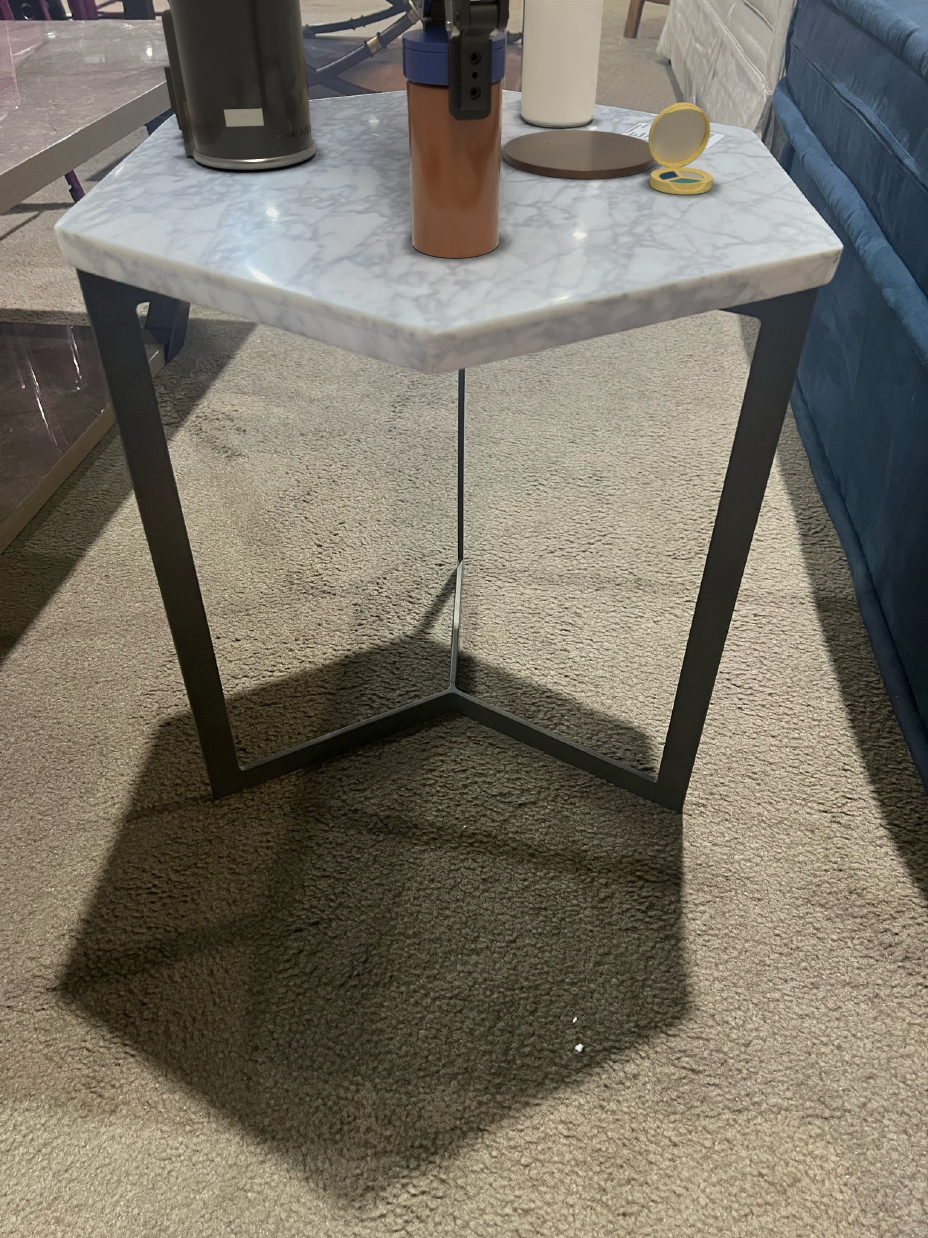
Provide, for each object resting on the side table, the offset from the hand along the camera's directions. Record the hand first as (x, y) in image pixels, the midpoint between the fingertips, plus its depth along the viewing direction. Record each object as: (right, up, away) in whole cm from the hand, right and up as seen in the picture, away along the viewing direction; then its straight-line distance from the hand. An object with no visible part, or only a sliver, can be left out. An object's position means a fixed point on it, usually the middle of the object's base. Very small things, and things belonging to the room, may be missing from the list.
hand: (456, 104), depth 53 cm
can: (+9, +15, +29) cm, 34 cm away
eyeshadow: (+16, +2, +15) cm, 22 cm away
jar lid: (0, +2, -2) cm, 3 cm away
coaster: (+9, +7, +20) cm, 23 cm away
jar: (0, -6, +5) cm, 8 cm away
